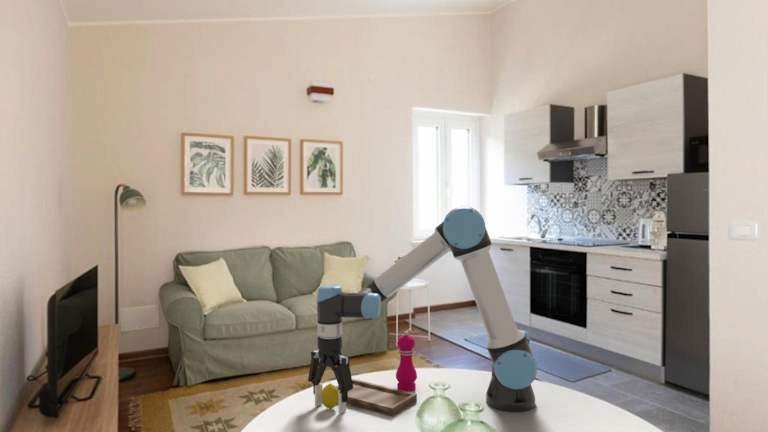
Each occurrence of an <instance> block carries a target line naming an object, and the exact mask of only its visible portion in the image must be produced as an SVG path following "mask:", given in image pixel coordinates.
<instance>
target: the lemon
mask: <svg viewBox="0 0 768 432" xmlns="http://www.w3.org/2000/svg"><path fill="white" fill-rule="evenodd" d="M336 386H337V385H334V384H332V383H329V384H327V385H325V386H324V387H322V394H321V399H322V403H323V404H322V405H323V406H324V407H325V408H328V409H329V410H332V409H333V408H336V406H337V405H339V403H338V392H339V391H338V389H337V387H336Z"/></svg>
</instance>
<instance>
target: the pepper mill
mask: <svg viewBox="0 0 768 432" xmlns="http://www.w3.org/2000/svg"><path fill="white" fill-rule="evenodd" d="M409 334H410V333H409V331H408V330H404V332H403V335H400V336H399V337H398V339H397V342H396V343H397V344H396V345H397V347H398V348H399V349H398V354H399V357H400V361H399V365H398V367H397V369H396V372H395V378H396V381H397V384H396V386H397V388H396V389H398V390H402V391H406V392H410V393H412V392H414V391H416V386H417V385H416V382H415V381H417V378H418V374H417V370H416V368H415V366H414V363H413V355H414V347H415V346H416V345H415V344H416V340H415V338H414V336H412V335H409Z"/></svg>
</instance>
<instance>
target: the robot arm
mask: <svg viewBox="0 0 768 432" xmlns="http://www.w3.org/2000/svg"><path fill="white" fill-rule="evenodd" d="M491 241H492V240H491V238H490V236H489V233H488V230H487V227H486V223H485V219H484V217H483V215H482V214H481V213H480V212H479V211H478V209H476V208H473V207H471V206H465V205H464V206H463V205H461V206H458V207H455V208H453V209H451V210H450V211H449V212H448V213H447V214H446V215H445V217H444V220H443V221H442V222H440V224H439V225H437V226H436V227H435V228H434V232H433V233H432V234H431V235H430V236H428V237H427V238H426V239H424V240H423V241H422V242H421V243H419V244H418V245H417V246H415V247H414V248H413V249H411V251H409V252H408V253H407V254H405V255H404V256H402V257H401V258H400V259H399V260H398V261H396V262H395V263H394V264H392V265H391V266H390V267H388V269H387V268H386V269H385V271H384V272H382V273H380V274H379V275H378V276H377V277H376V278H374V279H373V280H371V282H369V283H368V284H367V285H365V286H363V287H362V288H361V289H360V290H359V291H357V292H345V291H344V292H343V288H342V287H341V285H337V284H326V285H322V286H319V287H318V289H317V294H316V295H317V297H316V299H317V300H316V305H317V306H316V311H317V312H316V313H317V314H316V315H317V349H316V350H313V351H311V352H310V355H311V356H310V358H311V360H310V365H309V372H308V378H307V380H308V382H309V383H312V386H313V389H312V390H313V392H312V393H313V396H314V407H316V408H317V407H319V406H322V405H323V403H322V399H321V394H322V391H323V383H322V379H323V376H324V373H325V372H326V369H327V367H329V368H331V371H332V372H333V373H334V374H333V375H334V377H335V378H336V381H337V386H338V385H339V388H340V391H339V392H338V414H339V415H341V414H343V413H346V412H347V404H346V402H347V400H348V391H349V390H351V389H353V383H352V379H353V378H352V373H351V368H350V367H351V366H350V360H351V358H350V356H349V355H348V356H344V355H343V354H342V351H341V350H342V348H343V337H342V335H343V318H351V319H352V318H353V319H367V320H369V319H378V318H379V317H380V316H381V311H382V310H381V309H382V303H384V302H385V301H386V300H387V299H388V298H390V297H391V296H393V295H394V294H395V293H396V292H398V291H399V290H400V289H401V288H403V287H404V286H405V285H407V284H408V283H410V282H411V281H412V280H413V279H415V278H417V276H418V275H420V274H422V273H423V272H424V271H425V270H426V269H428V268H430V267H431V266H432V265H433V264H435V263H436V262H437V261H438V260H440V259H441V258H442V257H444V256H445V255H446V254H448V253H449V252H452V256H453V258H454V259H455V260H458V261H460V263H461V265H462V268H463V270H464V274H465V276H466V278H467V281H468V284H469V287H470V290H471V293H472V296H473V298H474V301H475V304H476V306H477V309H478V311H479V314H480V317H481V320H482V322H483V325H484V328H485V331H486V334H487V337H488V340H487V342H486V344H485V346H486V349H487V352H488V356H489V358H490V360H491V377H490V382H489V383H488V387H487V390H486V394H485V398H486V399H485V400H486V403H487V404H488V405H489V406H490V407H492V408H494V409H497V410H501V411H505V412H506V411H507V412H524V411H525V412H526V411H529V410H532V409H533V408H535V406H536V396H535V392H534V389H533V387H532V384H533V382H534V381H535V380H536V378H537V373H538V364H537V363H538V362H537V361H536V359H535V358H534V355H533V353H532V349H531V346H530V341H531V339H530V335H529V334H530V333H529V332H528V331H526V330H522V329H518V327H517V324H516V322H515V319H514V316H513V314H512V311H511V308H510V305H509V302H508V300H507V297H506V295H505V294H506V293H505V292H504V289H503V286H502V283H501V281H500V279H499V276H498V273H497V270H496V268H495V264H494V261H493V259H492V257H491V254H490V249H491V247H492V245H493V244H492V242H491Z"/></svg>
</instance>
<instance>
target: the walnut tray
mask: <svg viewBox="0 0 768 432" xmlns="http://www.w3.org/2000/svg"><path fill="white" fill-rule="evenodd" d="M352 383H353V389H351V390H349V391H348V400H347V402H346V405H348V406H351V407H352V406H353V407H356V408H358V409H359V408H360V409H363V410H366V411H371V412H373V413H378V414H381V415H385V416H387V417H395V416H396V415H398V414H399V413H402V411H404V410H406V409H407V408H409V407H411V406H413V405H414V404H416V403H417V402H418V397H417V396H418V395H417V393H414V392H406V391H402V390H398V389H397V388H395V387H394V388H393V387H389V386H384V385H381V384H376V383H372V382H367V381H364V380H360V379H355V378H352ZM335 386H336V387H337V389H338V391H340V388H339V385H338V384H337V385H335Z"/></svg>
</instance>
